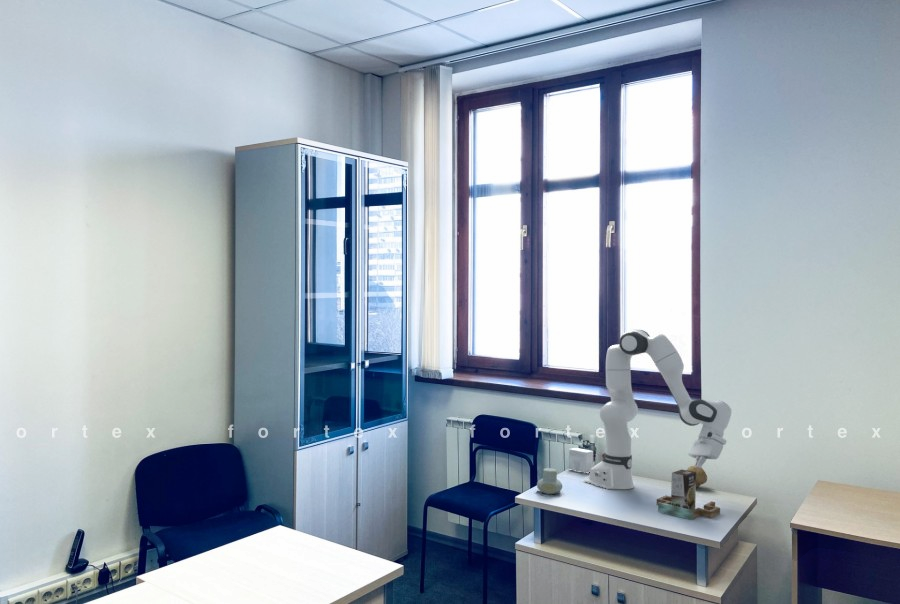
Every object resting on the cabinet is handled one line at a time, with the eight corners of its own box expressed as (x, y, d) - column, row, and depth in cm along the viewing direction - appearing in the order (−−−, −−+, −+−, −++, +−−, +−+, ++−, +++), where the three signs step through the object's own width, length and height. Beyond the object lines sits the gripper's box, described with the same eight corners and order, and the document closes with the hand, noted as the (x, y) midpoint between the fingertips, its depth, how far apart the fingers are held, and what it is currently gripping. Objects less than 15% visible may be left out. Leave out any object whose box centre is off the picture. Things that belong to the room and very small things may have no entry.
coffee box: (685, 516, 266) (686, 475, 266) (670, 512, 270) (670, 472, 270) (696, 511, 272) (696, 471, 272) (680, 508, 277) (681, 468, 277)
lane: (647, 509, 275) (647, 500, 275) (672, 498, 290) (672, 490, 290) (703, 522, 259) (703, 513, 259) (726, 510, 274) (726, 502, 274)
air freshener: (562, 491, 299) (563, 468, 299) (561, 496, 291) (561, 472, 291) (538, 488, 301) (538, 466, 301) (535, 494, 293) (536, 470, 293)
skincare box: (593, 471, 333) (593, 450, 333) (585, 474, 329) (586, 452, 329) (575, 467, 341) (576, 446, 341) (568, 470, 336) (568, 448, 336)
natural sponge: (707, 486, 311) (707, 464, 311) (706, 491, 302) (707, 468, 302) (686, 483, 314) (686, 462, 314) (685, 488, 306) (685, 466, 306)
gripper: (692, 434, 299) (679, 462, 295) (715, 433, 279) (702, 464, 275) (704, 441, 299) (692, 469, 295) (728, 441, 279) (716, 471, 276)
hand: (697, 467), depth 285 cm, fingers closed
